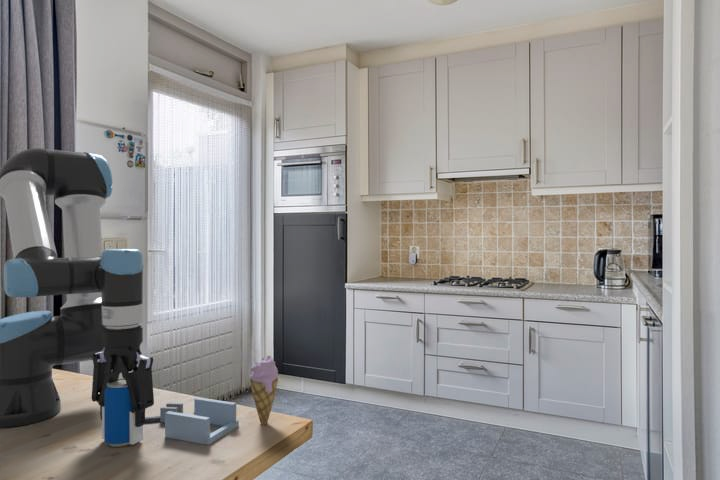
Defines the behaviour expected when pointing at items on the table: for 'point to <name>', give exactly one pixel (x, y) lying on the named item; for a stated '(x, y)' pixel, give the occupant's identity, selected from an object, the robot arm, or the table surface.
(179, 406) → the clip
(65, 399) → the table surface
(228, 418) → the end holder
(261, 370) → the ice cream cone
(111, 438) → the beverage can
